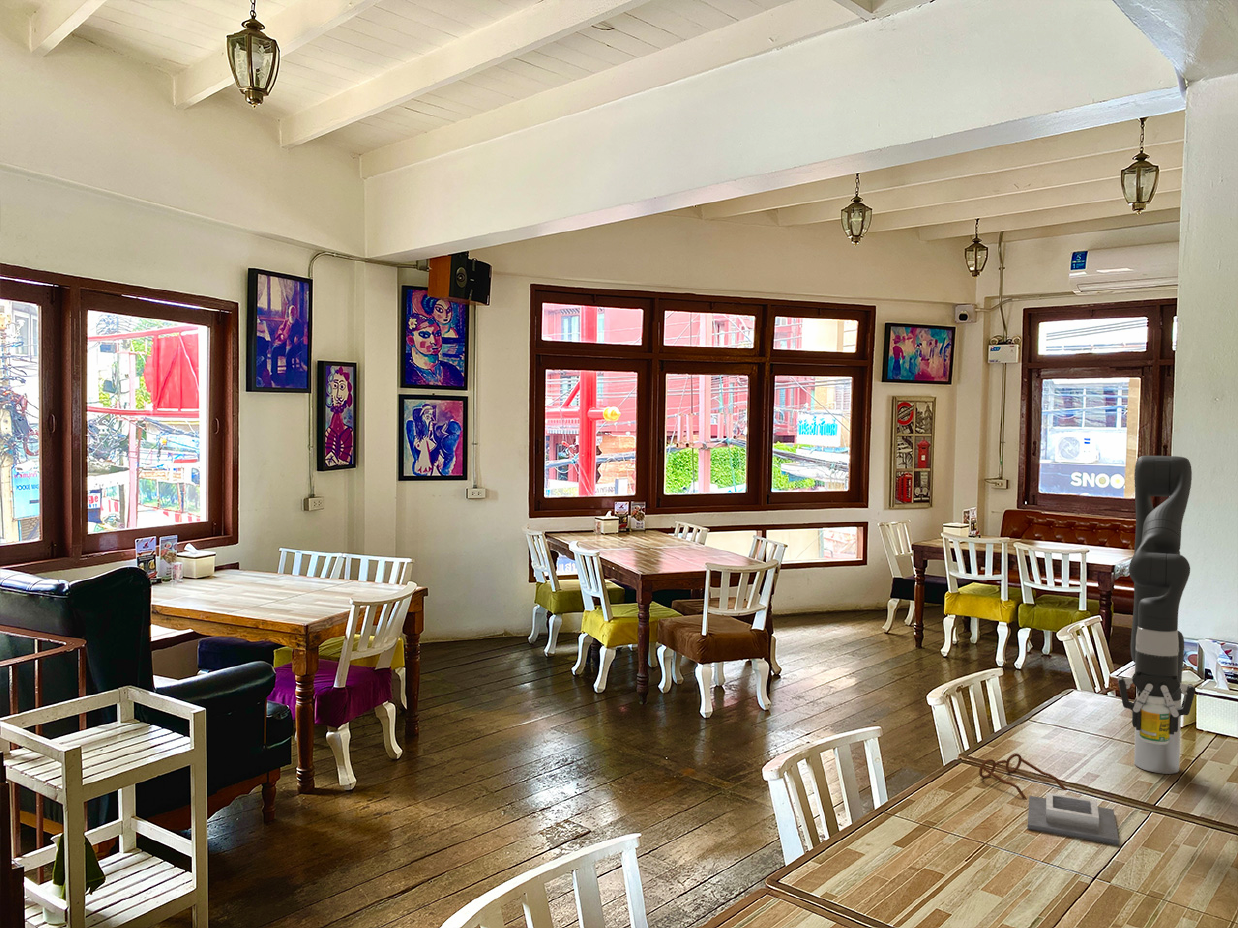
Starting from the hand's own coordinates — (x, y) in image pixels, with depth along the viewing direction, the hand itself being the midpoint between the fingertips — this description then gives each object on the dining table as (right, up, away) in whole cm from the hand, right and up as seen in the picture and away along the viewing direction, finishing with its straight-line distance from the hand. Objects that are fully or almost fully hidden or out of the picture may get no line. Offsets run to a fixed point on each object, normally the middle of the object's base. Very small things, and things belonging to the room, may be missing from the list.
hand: (1154, 730), depth 185 cm
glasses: (-19, -18, +18) cm, 32 cm away
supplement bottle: (0, -2, 0) cm, 2 cm away
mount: (-18, -18, -1) cm, 25 cm away
